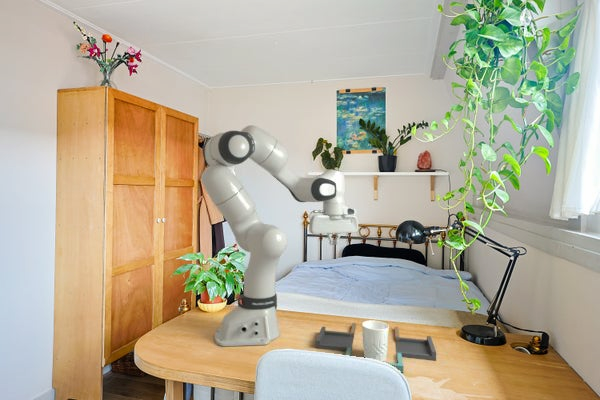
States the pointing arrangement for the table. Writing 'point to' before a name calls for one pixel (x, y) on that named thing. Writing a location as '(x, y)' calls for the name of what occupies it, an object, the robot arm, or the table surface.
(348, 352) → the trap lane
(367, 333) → the white cup
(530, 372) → the table surface
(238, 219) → the robot arm
